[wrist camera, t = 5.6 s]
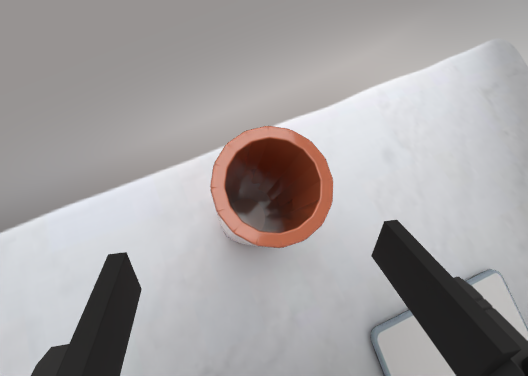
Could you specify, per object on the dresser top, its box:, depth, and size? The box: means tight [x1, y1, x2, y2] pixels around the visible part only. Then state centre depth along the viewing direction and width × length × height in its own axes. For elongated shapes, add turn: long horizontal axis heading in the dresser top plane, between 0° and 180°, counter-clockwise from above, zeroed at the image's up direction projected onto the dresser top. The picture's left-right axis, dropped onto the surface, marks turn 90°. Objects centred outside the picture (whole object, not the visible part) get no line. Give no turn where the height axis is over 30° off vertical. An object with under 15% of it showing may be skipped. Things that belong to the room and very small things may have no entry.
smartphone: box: [371, 270, 528, 376], centre depth 22 cm, size 8×1×15 cm
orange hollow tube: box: [210, 126, 333, 248], centre depth 16 cm, size 4×4×14 cm
